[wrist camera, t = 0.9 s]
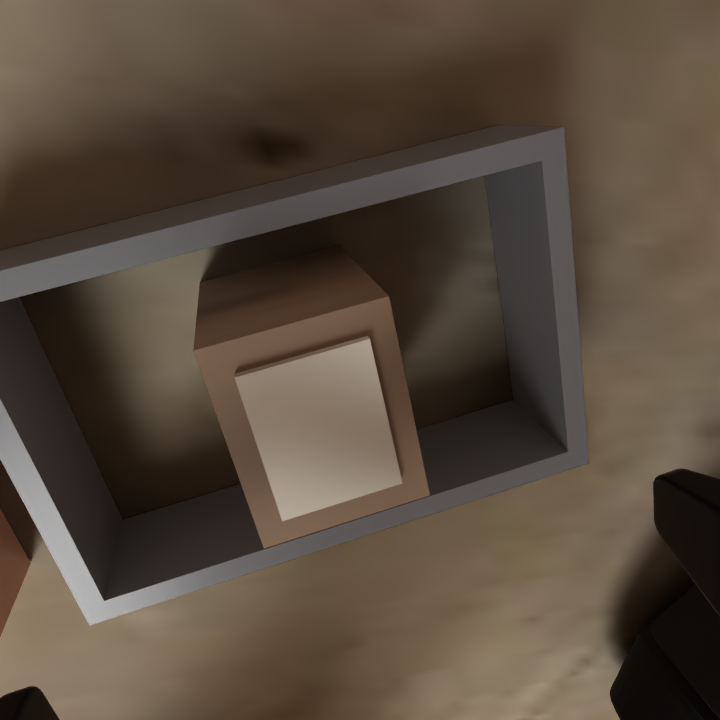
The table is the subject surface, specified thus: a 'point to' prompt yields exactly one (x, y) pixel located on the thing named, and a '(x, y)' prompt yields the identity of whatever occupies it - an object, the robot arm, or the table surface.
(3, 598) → the terracotta stand
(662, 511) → the robot arm
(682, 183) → the table surface
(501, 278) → the charcoal bin
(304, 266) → the walnut box
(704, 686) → the portable speaker
